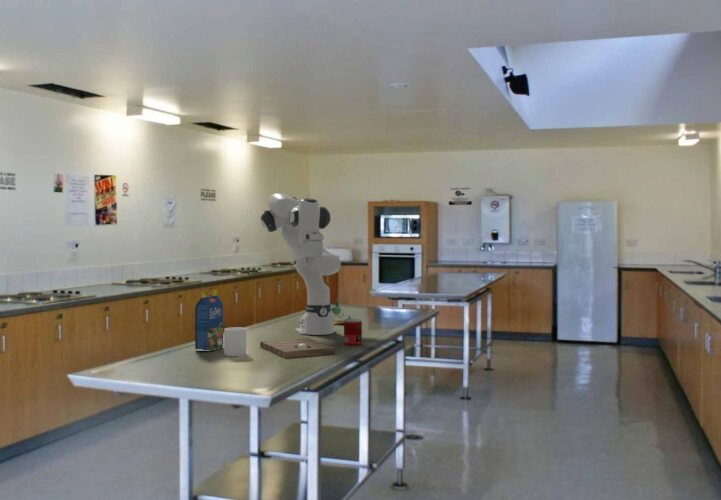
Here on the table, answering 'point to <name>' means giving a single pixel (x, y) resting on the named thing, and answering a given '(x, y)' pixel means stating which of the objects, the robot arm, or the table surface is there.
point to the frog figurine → (336, 310)
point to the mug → (235, 341)
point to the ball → (302, 346)
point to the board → (296, 347)
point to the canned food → (352, 332)
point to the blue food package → (209, 321)
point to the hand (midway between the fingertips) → (309, 267)
